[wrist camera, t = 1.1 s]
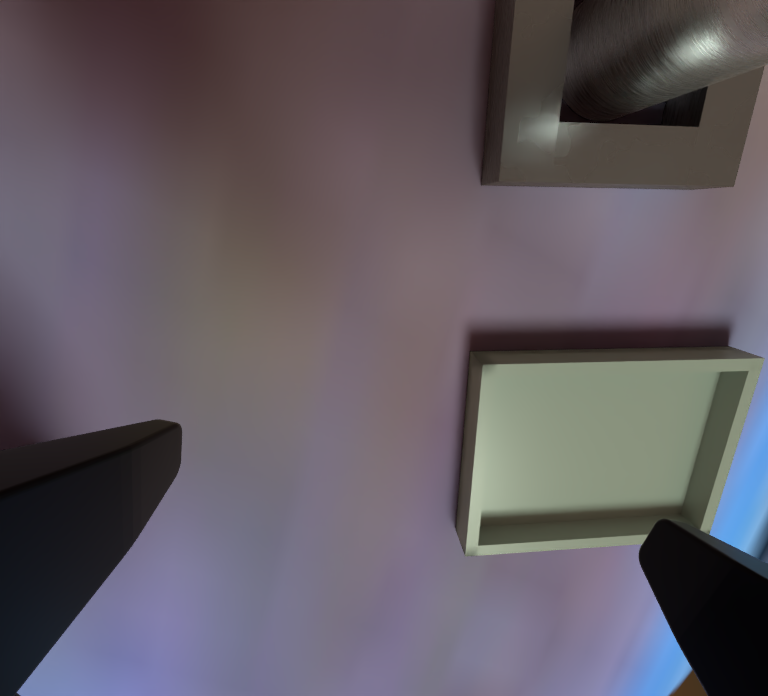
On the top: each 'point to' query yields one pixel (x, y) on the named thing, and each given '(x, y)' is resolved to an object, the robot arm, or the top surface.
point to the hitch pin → (658, 51)
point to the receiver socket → (597, 140)
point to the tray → (597, 444)
